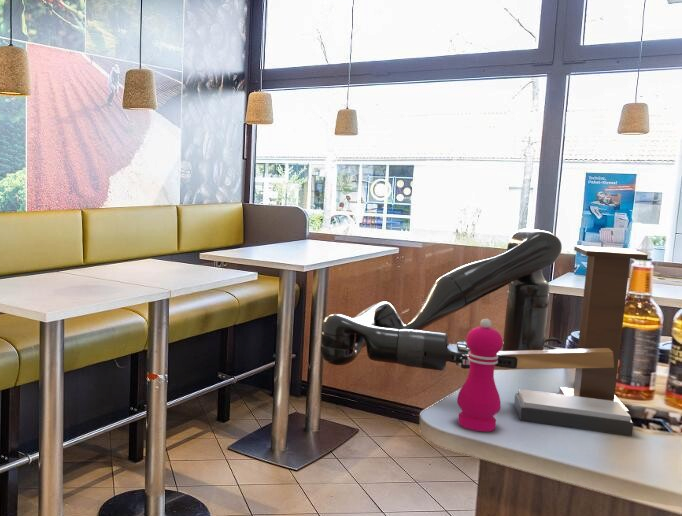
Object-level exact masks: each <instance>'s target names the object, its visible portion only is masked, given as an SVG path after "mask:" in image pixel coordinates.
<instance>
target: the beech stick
mask: <svg viewBox="0 0 682 516" xmlns="http://www.w3.org/2000/svg"><path fill="white" fill-rule="evenodd" d="M497 355H506V356H514V357H516V358H517V367H516V368H506V367H498V366H495V367H494V371H506V370H508V371H509V370H512V371H513V370H515V371H516V370H555V369H556V370H557V369H558V370H560V369H564V370H565V369H576V368H614V360H613V351H611V350H610V349H609V348H594V349H578V348H565V349H563V348H562V349H557V350H552V349H544V350H525V351H502V350H500V351H499V352H498V353H497Z"/></svg>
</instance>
